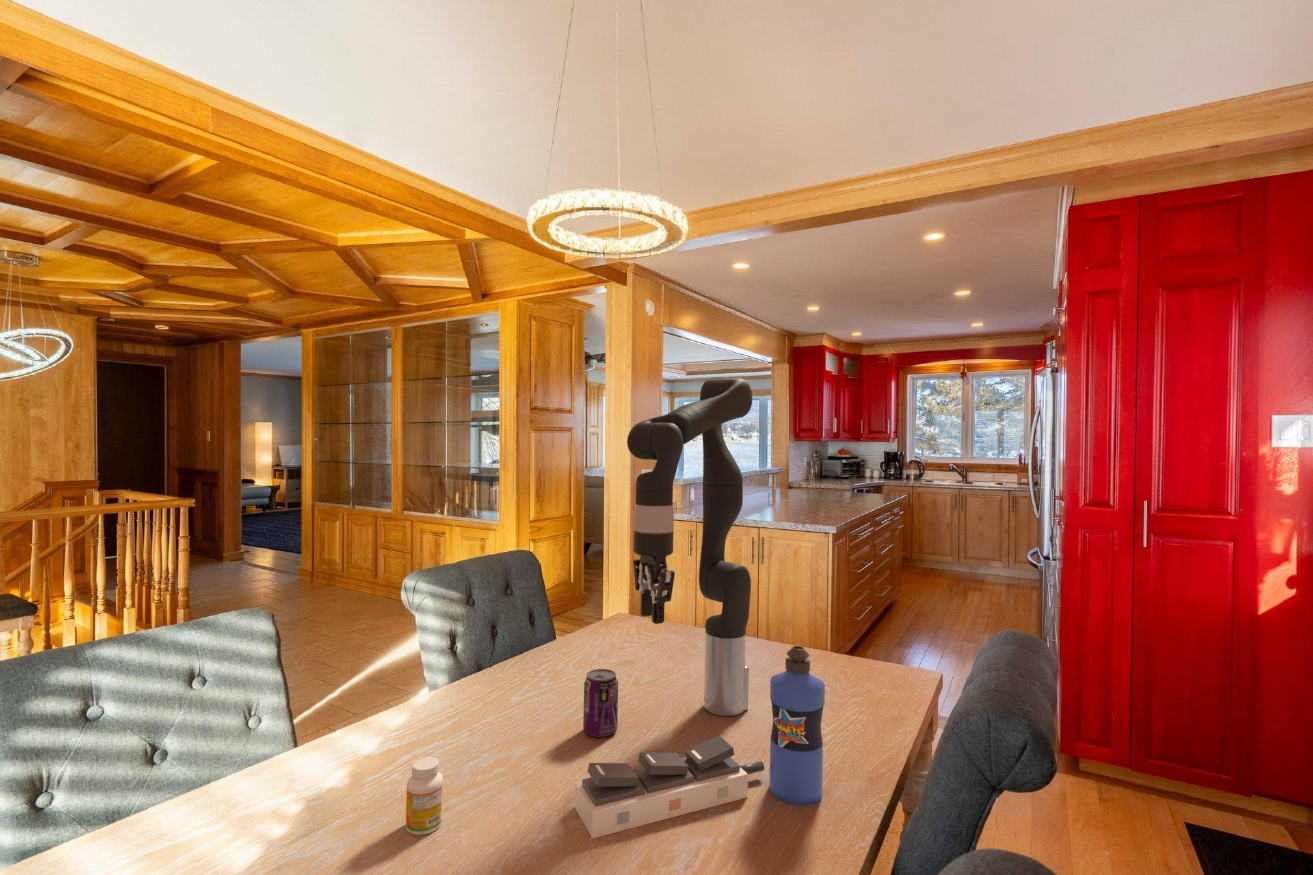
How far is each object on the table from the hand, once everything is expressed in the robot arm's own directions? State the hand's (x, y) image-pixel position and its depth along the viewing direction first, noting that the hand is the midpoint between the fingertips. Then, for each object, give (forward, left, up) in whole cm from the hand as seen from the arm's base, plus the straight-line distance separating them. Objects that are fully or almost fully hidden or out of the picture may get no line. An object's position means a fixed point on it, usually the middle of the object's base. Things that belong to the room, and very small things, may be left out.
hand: (652, 618), depth 117 cm
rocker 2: (+3, +12, -21) cm, 24 cm away
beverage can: (+4, -16, -28) cm, 32 cm away
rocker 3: (-6, +12, -21) cm, 25 cm away
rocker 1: (+12, +12, -21) cm, 27 cm away
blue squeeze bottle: (-20, +18, -28) cm, 38 cm away
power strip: (0, +12, -27) cm, 30 cm away
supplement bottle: (+40, +3, -28) cm, 49 cm away
